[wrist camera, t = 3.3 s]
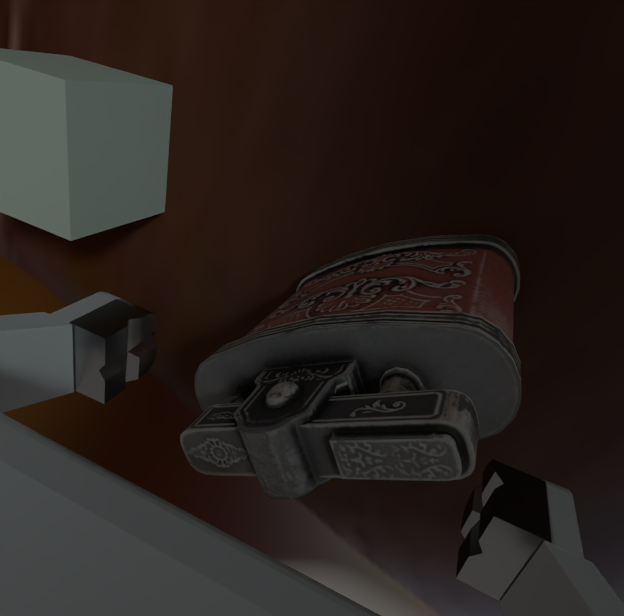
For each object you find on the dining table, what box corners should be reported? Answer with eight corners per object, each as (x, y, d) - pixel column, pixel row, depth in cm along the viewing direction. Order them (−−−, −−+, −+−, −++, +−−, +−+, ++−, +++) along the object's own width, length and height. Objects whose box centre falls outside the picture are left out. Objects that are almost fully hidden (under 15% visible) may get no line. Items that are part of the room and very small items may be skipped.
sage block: (174, 85, 18) (64, 80, 13) (165, 211, 20) (70, 241, 16) (71, 56, 19) (-59, 42, 15) (74, 178, 21) (-36, 197, 17)
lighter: (317, 340, 19) (161, 524, 11) (292, 263, 18) (101, 400, 10) (528, 312, 16) (540, 558, 7) (510, 215, 15) (501, 367, 6)
